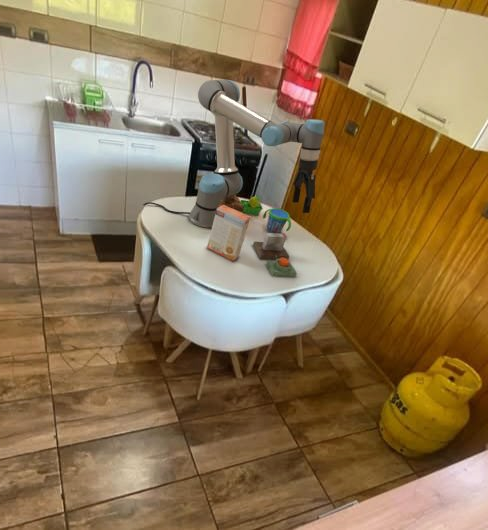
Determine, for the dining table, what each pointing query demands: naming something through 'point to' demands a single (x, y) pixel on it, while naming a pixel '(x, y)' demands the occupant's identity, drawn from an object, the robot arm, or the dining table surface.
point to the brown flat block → (269, 252)
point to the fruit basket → (251, 206)
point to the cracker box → (228, 232)
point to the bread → (232, 203)
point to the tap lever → (274, 241)
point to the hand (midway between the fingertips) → (300, 207)
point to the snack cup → (277, 220)
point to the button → (283, 262)
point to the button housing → (280, 269)
